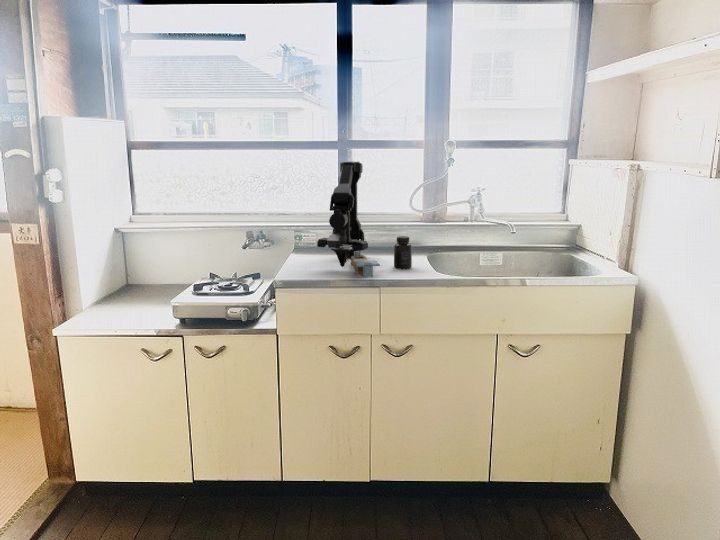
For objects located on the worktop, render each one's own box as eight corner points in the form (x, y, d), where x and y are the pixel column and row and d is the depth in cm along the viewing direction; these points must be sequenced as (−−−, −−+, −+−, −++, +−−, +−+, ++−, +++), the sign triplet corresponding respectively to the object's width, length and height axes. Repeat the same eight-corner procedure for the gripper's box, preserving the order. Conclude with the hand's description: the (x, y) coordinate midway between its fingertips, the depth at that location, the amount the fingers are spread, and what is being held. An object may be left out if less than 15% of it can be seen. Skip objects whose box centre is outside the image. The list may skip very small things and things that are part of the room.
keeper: (379, 276, 190) (379, 263, 189) (357, 277, 188) (357, 265, 187) (374, 271, 196) (374, 260, 195) (353, 272, 194) (353, 261, 193)
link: (372, 274, 193) (372, 265, 192) (357, 274, 192) (357, 266, 191) (364, 263, 210) (364, 255, 209) (350, 264, 209) (350, 256, 209)
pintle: (356, 264, 209) (356, 250, 208) (360, 265, 208) (360, 251, 207) (352, 265, 207) (352, 251, 206) (357, 265, 206) (357, 252, 205)
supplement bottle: (413, 266, 205) (414, 236, 203) (409, 270, 199) (409, 238, 196) (396, 265, 207) (396, 235, 205) (391, 268, 201) (392, 237, 198)
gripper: (309, 226, 192) (310, 268, 195) (355, 229, 184) (356, 273, 188) (323, 222, 201) (324, 262, 205) (368, 225, 194) (368, 267, 197)
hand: (342, 266), depth 198 cm, fingers closed
